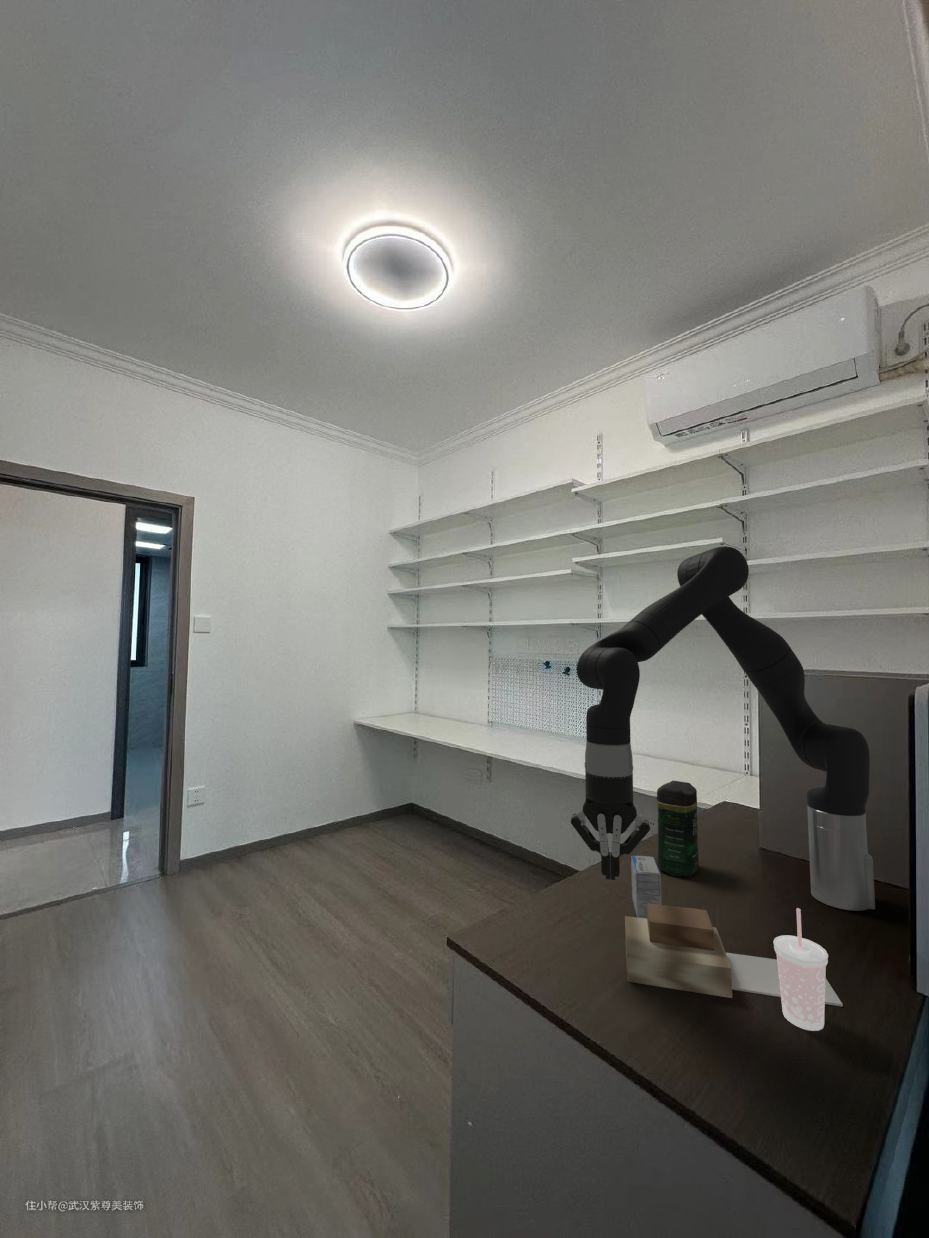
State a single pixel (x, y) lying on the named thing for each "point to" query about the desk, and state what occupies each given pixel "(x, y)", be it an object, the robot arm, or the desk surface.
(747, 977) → the mat
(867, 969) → the desk surface
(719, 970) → the tan flat block
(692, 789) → the coffee jar
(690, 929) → the walnut tile
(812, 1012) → the beverage cup
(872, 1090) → the desk surface
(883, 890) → the desk surface
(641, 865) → the medicine box
